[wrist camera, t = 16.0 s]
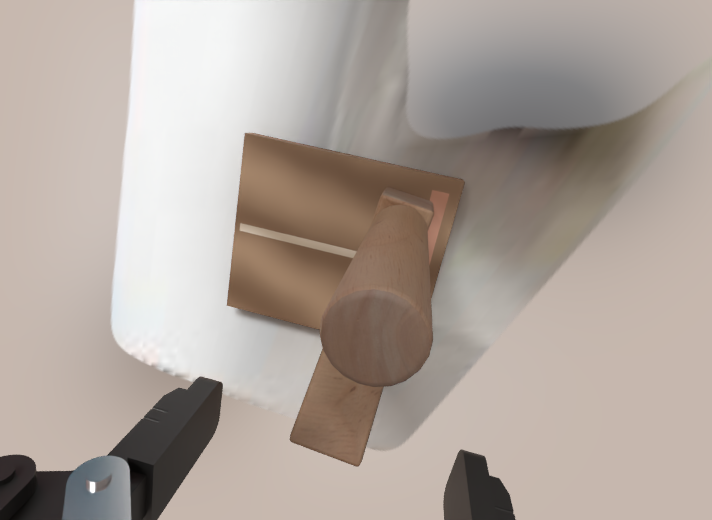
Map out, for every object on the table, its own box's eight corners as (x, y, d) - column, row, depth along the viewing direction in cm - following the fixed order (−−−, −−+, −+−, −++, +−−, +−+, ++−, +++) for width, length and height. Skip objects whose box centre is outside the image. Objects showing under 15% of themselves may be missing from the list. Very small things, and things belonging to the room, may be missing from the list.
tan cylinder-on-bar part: (342, 314, 32) (255, 515, 15) (385, 185, 29) (333, 264, 12) (386, 329, 32) (346, 550, 15) (435, 201, 29) (453, 306, 12)
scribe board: (253, 133, 31) (244, 133, 29) (462, 179, 29) (464, 182, 28) (234, 298, 35) (226, 305, 34) (415, 345, 34) (414, 354, 33)
